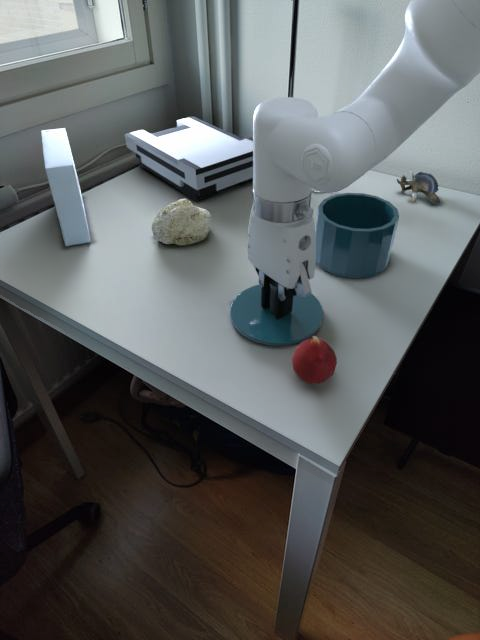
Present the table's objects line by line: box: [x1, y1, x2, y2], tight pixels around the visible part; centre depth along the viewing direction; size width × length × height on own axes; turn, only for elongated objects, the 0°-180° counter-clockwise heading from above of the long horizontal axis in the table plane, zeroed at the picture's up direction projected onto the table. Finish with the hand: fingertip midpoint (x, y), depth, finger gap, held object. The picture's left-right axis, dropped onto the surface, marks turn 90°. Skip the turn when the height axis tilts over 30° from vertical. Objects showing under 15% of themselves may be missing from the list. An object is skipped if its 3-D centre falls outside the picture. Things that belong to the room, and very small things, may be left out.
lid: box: [229, 279, 324, 346], centre depth 71 cm, size 15×15×7 cm
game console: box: [124, 116, 253, 202], centre depth 114 cm, size 21×32×8 cm, turn 38°
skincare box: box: [40, 127, 92, 247], centre depth 93 cm, size 21×5×16 cm, turn 20°
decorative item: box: [151, 197, 212, 246], centre depth 90 cm, size 12×9×10 cm
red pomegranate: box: [291, 335, 338, 385], centre depth 61 cm, size 6×6×8 cm
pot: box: [315, 192, 400, 279], centre depth 83 cm, size 14×14×10 cm
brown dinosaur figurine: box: [396, 169, 441, 206], centre depth 101 cm, size 8×7×9 cm
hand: (276, 308), depth 73 cm, fingers closed on lid, 2 cm apart
